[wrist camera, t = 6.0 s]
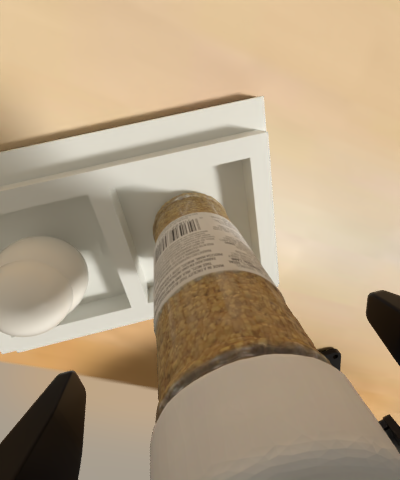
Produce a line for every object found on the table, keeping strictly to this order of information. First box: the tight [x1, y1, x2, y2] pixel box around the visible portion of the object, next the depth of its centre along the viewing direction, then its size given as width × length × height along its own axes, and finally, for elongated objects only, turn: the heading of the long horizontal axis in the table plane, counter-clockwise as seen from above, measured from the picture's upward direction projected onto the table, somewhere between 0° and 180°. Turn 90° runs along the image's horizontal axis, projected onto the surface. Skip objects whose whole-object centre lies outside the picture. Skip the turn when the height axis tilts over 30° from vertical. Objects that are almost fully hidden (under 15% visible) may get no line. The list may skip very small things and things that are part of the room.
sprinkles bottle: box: [150, 192, 400, 480], centre depth 11 cm, size 5×5×14 cm
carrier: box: [0, 96, 279, 354], centre depth 16 cm, size 12×18×3 cm, turn 101°
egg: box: [0, 235, 89, 337], centre depth 14 cm, size 4×4×5 cm
